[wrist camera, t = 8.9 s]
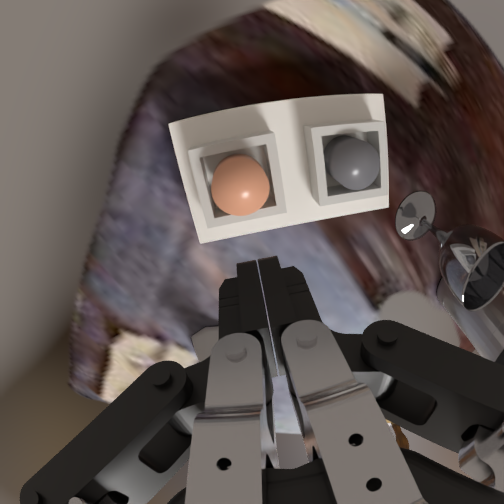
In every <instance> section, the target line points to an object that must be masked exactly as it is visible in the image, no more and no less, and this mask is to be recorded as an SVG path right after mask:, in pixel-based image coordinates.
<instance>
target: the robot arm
mask: <svg viewBox="0 0 504 504" xmlns="http://www.w3.org/2000/svg"><path fill="white" fill-rule="evenodd" d="M258 264H259V269H260V275H261V280H262V285H263V290H264V295H265V301H266V306H267V311H268V316H269V322H270V327H271V332H272V337H273V343H274V348H275V353H276V358H277V364H278V369H279V374H280V376H281V375H286V377H287V382H288V387H289V394H290V398H291V401H292V404H293V408H294V411H295V414H296V417H297V421H298V424H299V427H300V431H301V434H302V437H303V441H304V444H305V448H306V453H307V457H308V461H309V463H307V464H305V465H303V466H300V467H298V468H295V469H279V462H278V455H277V448H276V432H275V416H274V400H273V384H272V378H271V377H276V376H278V375H277V369H276V364H275V358H274V353H273V347H272V342H271V336H270V331H269V325H268V320H267V315H266V309H265V304H264V298H263V293H262V288H261V283H260V278H259V273H258V268H257V263H256V260H252V261H247V262H242V263H237V277H235V278H230V279H225V280H224V282H223V283H222V285H221V287H220V288H219V340H218V341H217V342H216V344H215V345H214V346H213V348H212V351H211V355H210V356H209V357H208V358H206V359H205V360H203V361H201V362H199V363H197V364H194V365H192V366H189V367H187V368H183V367H182V366H181V365H180V364H179V363H177V362H174V361H162V362H158V363H156V364H154V365H152V366H150V367H149V368H148V369H147V370H146V371H145V372H143V373H142V374H141V375H140V376H139V377H138V378H137V379H136V380H135V381H134V382H133V383H132V384H131V385H130V386H129V387H128V388H127V389H126V390H125V391H124V392H123V393H121V394H120V395H119V396H118V397H117V398H116V399H115V400H114V401H113V402H112V403H111V404H110V405H109V406H108V407H107V408H106V409H105V410H104V411H102V412H101V413H100V414H99V415H98V416H97V417H96V418H95V419H94V420H93V421H92V422H91V423H90V424H89V425H88V426H87V427H86V428H85V429H83V430H82V431H81V432H80V433H79V434H78V435H77V436H76V437H75V438H74V439H73V440H72V441H71V442H69V443H68V444H67V445H66V446H65V447H64V448H63V449H62V450H61V451H60V452H59V453H58V454H57V455H55V456H54V457H53V458H52V459H51V460H50V461H49V462H48V463H47V464H46V465H45V466H44V467H42V468H41V469H40V470H39V471H38V472H37V473H36V474H35V475H34V476H33V477H32V478H31V479H29V480H28V481H27V482H26V483H25V484H24V485H23V487H22V489H21V493H20V504H147V503H148V502H149V501H150V500H151V499H152V498H153V496H155V495H156V494H157V493H158V491H159V490H160V489H161V488H162V487H163V486H164V485H165V484H166V483H167V482H168V481H169V480H170V479H171V478H172V477H173V476H174V475H175V474H176V472H178V470H179V469H180V468H181V467H182V466H183V465H184V464H185V463H186V461H188V459H189V466H188V476H187V486H186V488H184V489H183V490H181V491H180V492H179V493H177V494H176V495H175V496H174V497H173V498H172V499H171V500H170V501H169V502H168V503H167V504H504V287H503V288H502V290H501V291H500V292H499V294H498V295H497V296H496V297H495V298H494V299H493V300H492V301H491V302H490V303H489V304H488V305H486V306H485V307H483V308H482V309H480V310H478V311H468V310H466V309H465V308H464V307H463V306H462V304H461V303H460V302H459V301H458V300H457V299H456V297H455V296H454V295H453V293H452V292H451V290H450V289H449V287H448V286H447V284H446V282H445V280H444V278H442V279H441V281H440V283H439V286H438V289H437V298H438V301H439V302H440V303H441V304H442V305H443V307H444V308H445V309H446V310H447V312H448V313H449V314H450V316H451V317H452V318H453V319H454V321H455V322H456V323H457V324H458V326H459V327H460V328H461V330H462V331H463V332H464V333H465V335H466V336H467V337H468V339H469V340H470V341H471V343H472V344H473V346H474V347H475V348H476V350H477V351H478V352H479V354H480V355H481V356H478V355H476V354H474V353H471V352H469V351H466V350H464V349H461V348H459V347H456V346H454V345H451V344H449V343H447V342H444V341H442V340H439V339H437V338H434V337H432V336H429V335H427V334H425V333H422V332H420V331H417V330H415V329H412V328H410V327H408V326H405V325H403V324H400V323H398V322H395V321H391V320H381V321H377V322H374V323H372V324H370V325H369V326H368V327H367V328H366V329H365V330H364V332H363V334H342V333H337V332H334V331H332V330H330V329H329V328H328V327H327V326H326V325H325V324H324V323H323V322H322V320H321V318H320V316H319V313H318V310H317V308H316V305H315V303H314V300H313V298H312V295H311V293H310V291H309V288H308V285H307V284H306V280H305V278H304V275H303V273H302V272H301V271H299V270H298V269H297V268H295V267H294V266H292V267H287V268H282V269H281V267H280V264H279V261H278V257H277V256H273V257H267V258H262V259H258ZM386 419H387V420H389V421H391V422H393V423H394V424H396V425H398V426H400V427H402V428H404V429H406V430H409V431H410V432H413V433H415V434H417V435H419V436H421V437H423V438H425V439H427V440H429V441H432V442H434V443H436V444H438V445H440V446H442V447H445V448H447V449H449V450H452V451H454V452H456V453H458V454H459V467H460V469H461V470H462V471H464V472H465V473H466V474H468V475H469V476H471V477H472V478H473V479H470V478H468V477H466V476H464V475H462V474H459V473H457V472H455V471H453V470H451V469H449V468H447V467H445V466H443V465H441V464H439V463H437V462H435V461H433V460H431V459H429V458H427V457H425V456H423V455H421V454H419V453H417V452H415V451H412V450H409V449H405V448H401V447H399V446H398V444H397V442H396V440H395V438H394V436H393V434H392V432H391V430H390V428H389V426H388V424H387V421H386Z"/></svg>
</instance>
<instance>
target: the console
mask: <svg viewBox="0 0 504 504" xmlns="http://www.w3.org/2000/svg"><path fill="white" fill-rule="evenodd" d="M168 125H169V129H170V133H171V137H172V142H173V146H174V150H175V154H176V157H177V161H178V165H179V169H180V173H181V177H182V180H183V184H184V188H185V192H186V195H187V199H188V203H189V206H190V210H191V213H192V217H193V220H194V224H195V227H196V231H197V234H198V238H199V241H200V244H201V243H206V242H211V241H216V240H221V239H226V238H230V237H235V236H240V235H245V234H250V233H255V232H260V231H265V230H270V229H275V228H280V227H285V226H291V225H296V224H301V223H306V222H311V221H317V220H322V219H327V218H333V217H338V216H343V215H349V214H354V213H360V212H365V211H371V210H376V209H382V208H388V207H389V176H388V148H387V132H386V119H385V109H384V99H383V94H366V93H365V94H340V95H325V96H313V97H303V98H294V99H286V100H278V101H271V102H264V103H258V104H252V105H246V106H241V107H235V108H230V109H225V110H220V111H216V112H211V113H207V114H202V115H198V116H194V117H190V118H186V119H182V120H178V121H175V122H172V123H169V124H168ZM342 135H347V136H351V137H354V138H357V139H360V140H363V141H366V142H368V143H370V144H371V145H372V146H373V147H374V148H375V149H376V151H377V153H378V155H379V159H380V169H379V173H378V175H377V177H376V179H375V180H374V181H373V183H372V184H370V185H369V186H368V187H366V188H364V189H360V190H351V189H348V188H346V187H344V186H343V185H342V184H340V183H339V182H338V181H336V180H335V179H334V178H333V177H331V176H330V175H329V174H328V173H327V171H326V170H325V163H324V154H323V152H324V149H325V147H326V145H327V144H328V143H329V142H330V141H331V140H332V139H333V138H335V137H338V136H342ZM233 154H245V155H249V156H251V157H253V158H254V159H256V160H257V161H258V162H259V164H260V165H261V167H262V168H263V170H264V172H265V174H266V176H267V178H268V180H269V186H270V188H269V195H268V198H267V200H266V202H265V203H264V205H263V206H262V207H261V208H260V209H259V210H257V211H256V212H254V213H252V214H249V215H245V216H235V215H231V214H228V213H226V212H224V211H223V210H221V209H220V208H219V207H218V206H217V205H216V203H215V202H214V199H213V197H212V192H211V185H212V179H213V173H214V170H215V168H216V166H217V165H218V163H219V162H220V161H221V160H222V159H224V158H225V157H227V156H230V155H233Z"/></svg>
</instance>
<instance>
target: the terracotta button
mask: <svg viewBox="0 0 504 504" xmlns="http://www.w3.org/2000/svg"><path fill="white" fill-rule="evenodd" d="M269 188H270V186H269V180H268V178H267V176H266V174H265V172H264V170H263V168H262V167H261V165H260V164H259V162H258V161H257V160H256V159H254V158H253V157H251V156H249V155H245V154H233V155H230V156H227V157H225V158H224V159H222V160H221V161H220V162H219V163H218V165H217V166H216V168H215V170H214V173H213V179H212V185H211V192H212V197H213V199H214V202H215V203H216V205H217V206H218V207H219V208H220V209H221V210H223V211H224V212H226V213H228V214H231V215H235V216H245V215H249V214H252V213H254V212H256V211H257V210H259V209H260V208H261V207H262V206H263V205H264V203H265V202H266V200H267V198H268V195H269Z"/></svg>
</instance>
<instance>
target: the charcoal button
mask: <svg viewBox="0 0 504 504" xmlns="http://www.w3.org/2000/svg"><path fill="white" fill-rule="evenodd" d="M323 154H324V163H325V170H326V171H327V173H328V174H329V175H330V176H331V177H333V178H334V179H335V180H336V181H338V182H339V183H340V184H342V185H343V186H344V187H346V188H348V189H351V190H360V189H364V188H366V187H368V186H369V185H370V184H372V183H373V181H374V180H375V179H376V177H377V175H378V173H379V169H380V159H379V155H378V153H377V151H376V149H375V148H374V147H373V146H372V145H371V144H370V143H368V142H366V141H363V140H360V139H357V138H354V137H351V136H347V135H342V136H338V137H335V138H333V139H332V140H331V141H330V142H329V143H328V144H327V145H326V147H325V149H324V152H323Z"/></svg>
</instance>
